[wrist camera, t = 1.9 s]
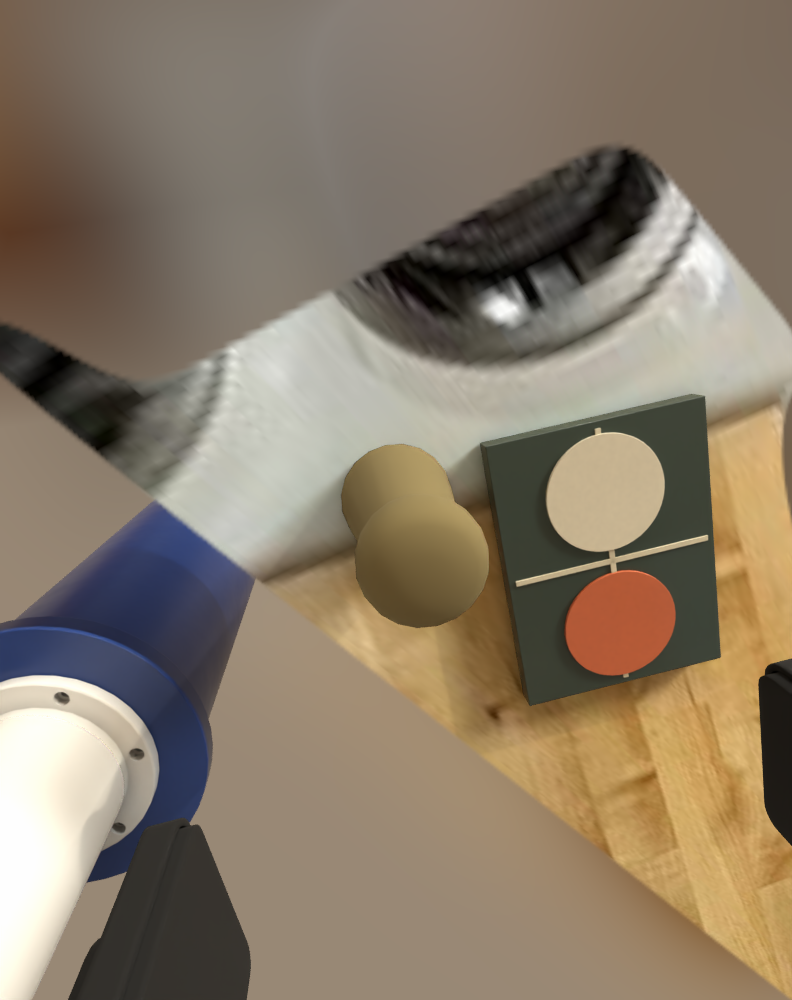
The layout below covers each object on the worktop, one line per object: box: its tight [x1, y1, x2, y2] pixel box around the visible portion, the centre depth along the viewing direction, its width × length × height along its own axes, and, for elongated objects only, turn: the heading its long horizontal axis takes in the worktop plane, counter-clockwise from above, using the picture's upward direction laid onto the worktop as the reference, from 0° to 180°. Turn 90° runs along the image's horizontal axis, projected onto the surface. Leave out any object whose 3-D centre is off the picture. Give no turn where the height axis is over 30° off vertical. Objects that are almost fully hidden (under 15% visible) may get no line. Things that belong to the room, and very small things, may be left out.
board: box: [480, 394, 721, 706], centre depth 33 cm, size 12×16×1 cm
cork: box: [341, 444, 489, 628], centre depth 26 cm, size 6×6×11 cm
